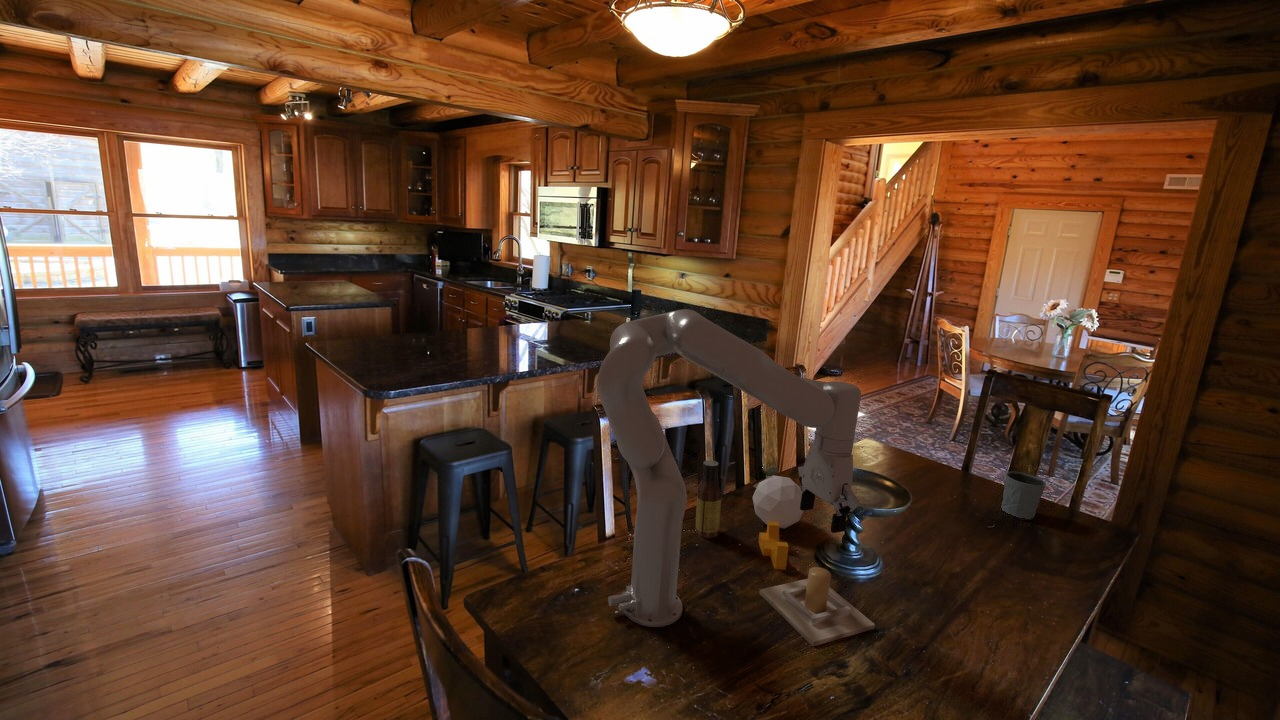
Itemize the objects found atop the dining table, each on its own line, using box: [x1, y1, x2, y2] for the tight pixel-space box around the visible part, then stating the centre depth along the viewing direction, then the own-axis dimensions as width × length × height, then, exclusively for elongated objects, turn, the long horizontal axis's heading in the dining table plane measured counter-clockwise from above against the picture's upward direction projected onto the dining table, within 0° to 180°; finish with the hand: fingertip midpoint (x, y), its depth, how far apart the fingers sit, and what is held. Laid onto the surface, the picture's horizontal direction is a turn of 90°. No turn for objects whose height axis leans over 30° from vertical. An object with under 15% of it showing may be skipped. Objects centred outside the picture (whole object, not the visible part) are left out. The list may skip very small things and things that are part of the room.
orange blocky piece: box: [758, 521, 789, 571], centre depth 147 cm, size 12×4×6 cm, turn 179°
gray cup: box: [1000, 471, 1047, 519], centre depth 178 cm, size 10×10×12 cm
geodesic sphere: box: [752, 475, 804, 529], centre depth 162 cm, size 15×14×14 cm
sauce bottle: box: [695, 459, 722, 539], centre depth 154 cm, size 7×6×20 cm
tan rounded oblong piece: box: [804, 566, 832, 613], centre depth 126 cm, size 4×4×8 cm
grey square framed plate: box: [759, 578, 876, 647], centre depth 127 cm, size 16×18×3 cm
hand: (821, 520), depth 123 cm, fingers open, 9 cm apart
